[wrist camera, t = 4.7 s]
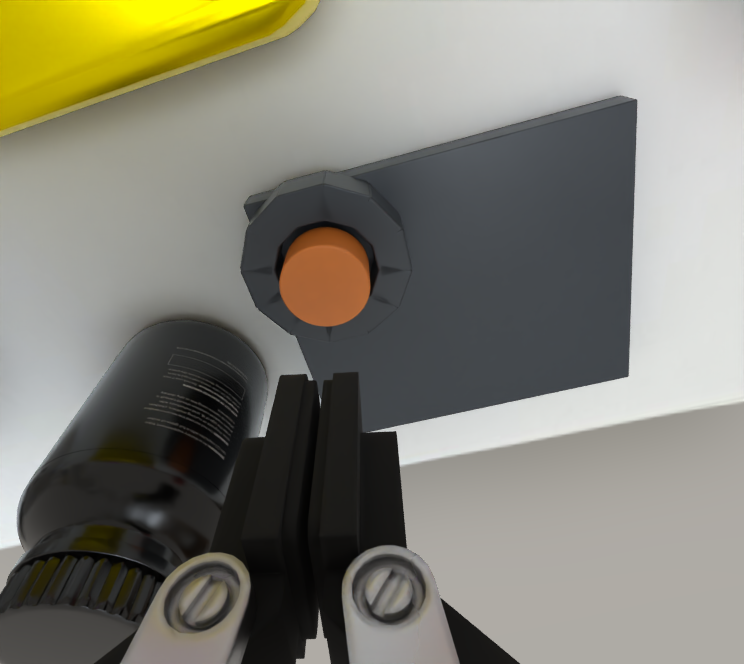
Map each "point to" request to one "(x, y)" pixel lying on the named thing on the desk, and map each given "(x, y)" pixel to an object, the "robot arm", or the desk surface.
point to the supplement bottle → (129, 491)
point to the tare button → (325, 277)
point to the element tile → (120, 47)
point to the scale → (470, 265)
